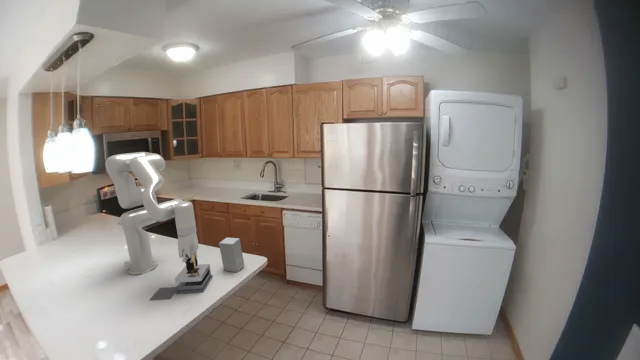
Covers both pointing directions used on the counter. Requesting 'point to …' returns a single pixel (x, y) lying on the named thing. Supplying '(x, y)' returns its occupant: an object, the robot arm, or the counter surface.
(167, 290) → the mat
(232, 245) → the skincare box
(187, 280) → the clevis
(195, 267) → the pin
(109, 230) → the counter surface
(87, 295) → the counter surface
